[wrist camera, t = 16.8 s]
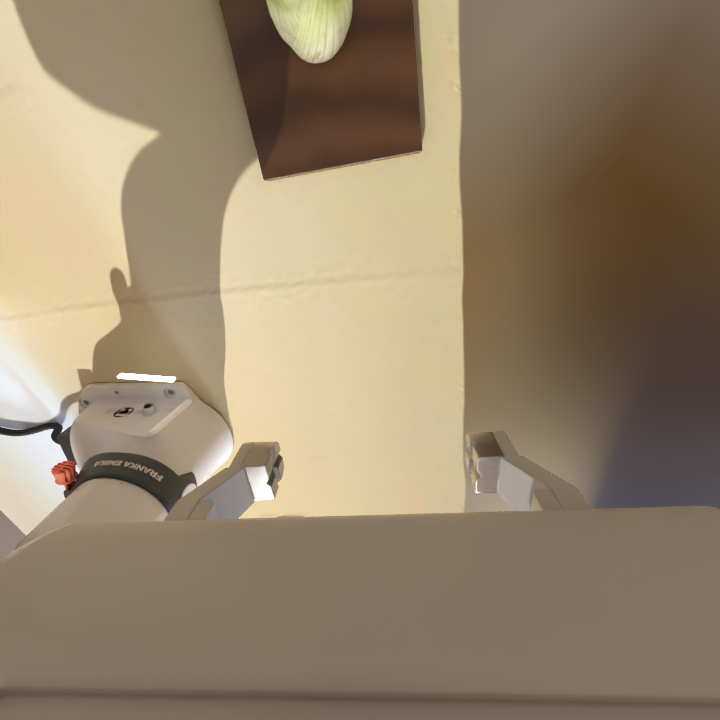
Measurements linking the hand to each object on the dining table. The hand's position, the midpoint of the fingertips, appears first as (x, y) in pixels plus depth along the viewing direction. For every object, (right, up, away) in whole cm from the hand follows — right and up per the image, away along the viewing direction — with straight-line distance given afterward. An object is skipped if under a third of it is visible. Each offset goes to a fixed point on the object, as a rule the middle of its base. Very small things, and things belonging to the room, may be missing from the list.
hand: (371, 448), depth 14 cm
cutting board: (-4, +33, +15) cm, 36 cm away
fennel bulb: (-4, +32, +14) cm, 35 cm away
